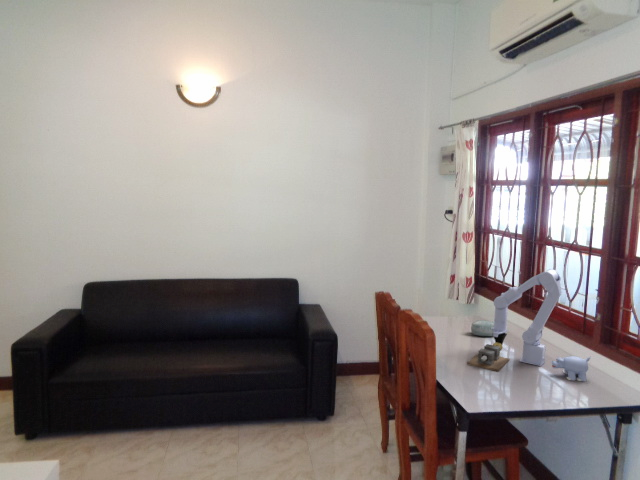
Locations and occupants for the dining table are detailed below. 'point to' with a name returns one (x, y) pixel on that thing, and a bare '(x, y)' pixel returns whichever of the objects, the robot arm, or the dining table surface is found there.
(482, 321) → the pale green pouf
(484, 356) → the shaft
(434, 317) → the dining table surface
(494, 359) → the bearing frame
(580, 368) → the hippopotamus toy
